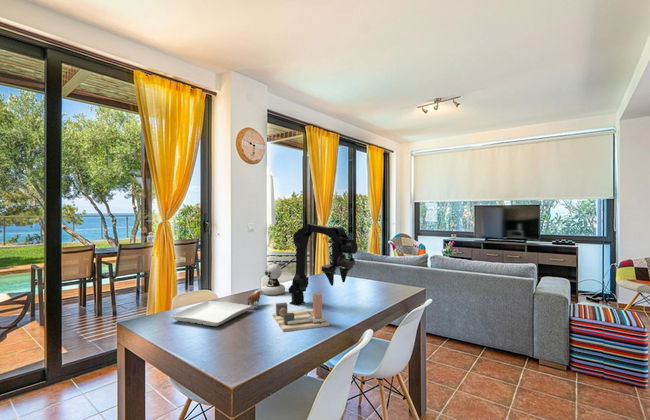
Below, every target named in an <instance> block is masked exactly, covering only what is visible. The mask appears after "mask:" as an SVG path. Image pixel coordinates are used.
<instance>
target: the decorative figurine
mask: <svg viewBox="0 0 650 420" xmlns="http://www.w3.org/2000/svg"><path fill="white" fill-rule="evenodd" d="M266 265H267V268H266V270H265V271H264V275H265V276H267V277H268V281H267V283H266V284H264V285H263V286H262V287H261V288H260V289H261V290H262V291H263V293H264V294H263V295H266V296H278V295H282V294H284V293H285V291H286V287H285V285H283V284H281V283H280V281H279V278H280V277H281V276H282V272H283V269H282V268H281V266H280V261H278V262H277V263H273V264H269V263H268V262H267V263H266Z"/></svg>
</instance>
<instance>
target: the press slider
mask: <svg viewBox="0 0 650 420" xmlns="http://www.w3.org/2000/svg"><path fill="white" fill-rule="evenodd" d="M322 298H323V295H322V294H321V293H320V292H317V293H316V292H315V293H312V309H313V315H312V316H309V317H307V318H299V319H294V313H286V314H283V323H284V324H288V325H289V324H297V323H304V322H313V323H317V322H325V321H326V320H327V319H326V317H325V316H324V315H323V305H322V304H323V301H322V300H323V299H322Z"/></svg>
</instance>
